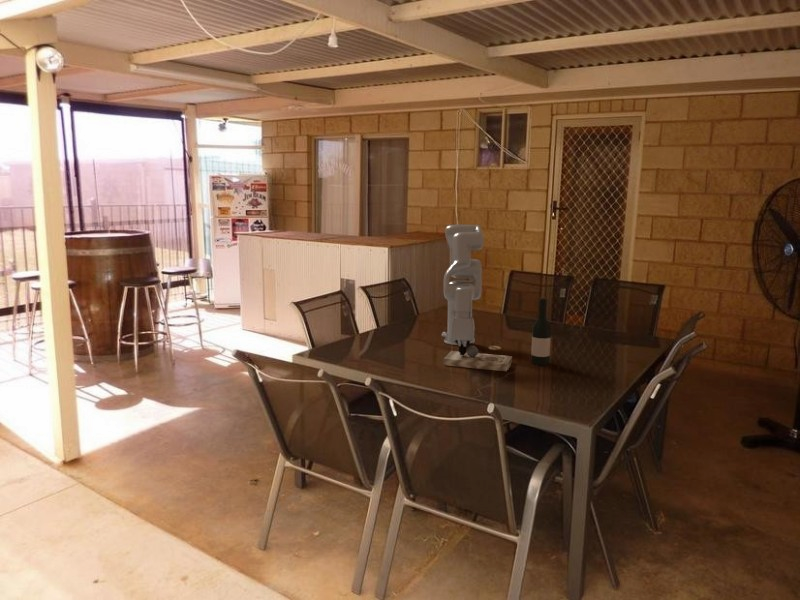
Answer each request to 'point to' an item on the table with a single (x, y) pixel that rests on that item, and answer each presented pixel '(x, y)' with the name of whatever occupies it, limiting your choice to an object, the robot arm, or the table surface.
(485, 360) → the beige flat board
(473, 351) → the ball
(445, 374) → the table surface
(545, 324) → the wine bottle
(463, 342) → the robot arm
